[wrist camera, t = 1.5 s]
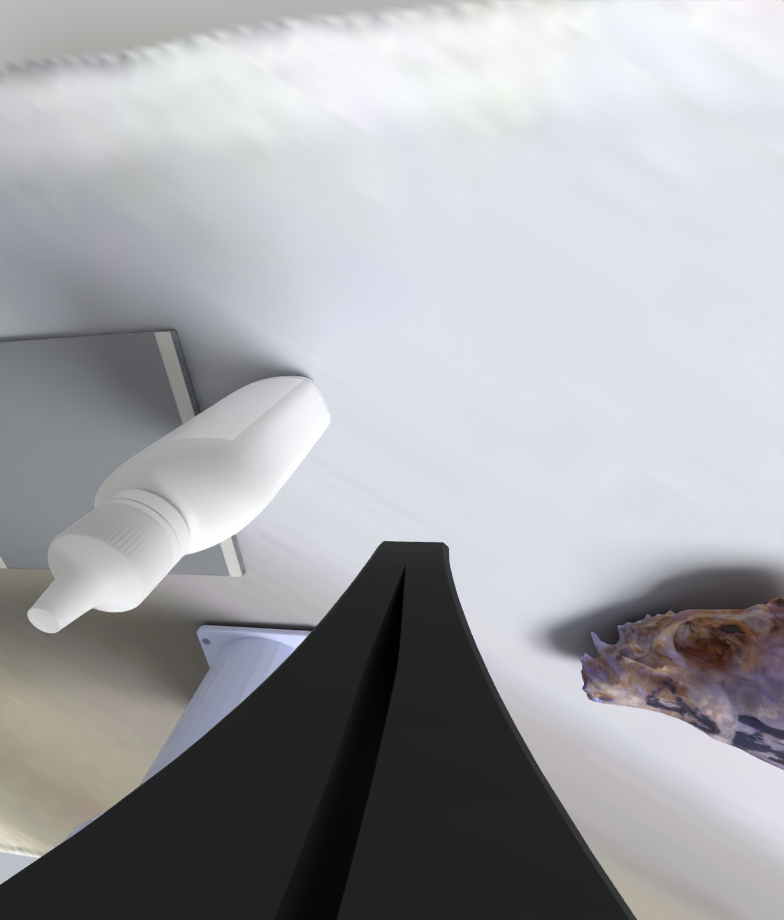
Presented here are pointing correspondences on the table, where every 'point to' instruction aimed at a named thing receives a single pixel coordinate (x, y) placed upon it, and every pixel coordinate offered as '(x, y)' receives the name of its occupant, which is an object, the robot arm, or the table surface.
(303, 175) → the table surface
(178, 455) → the eye dropper bottle
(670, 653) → the skull
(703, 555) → the table surface
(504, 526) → the table surface
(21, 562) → the mat
